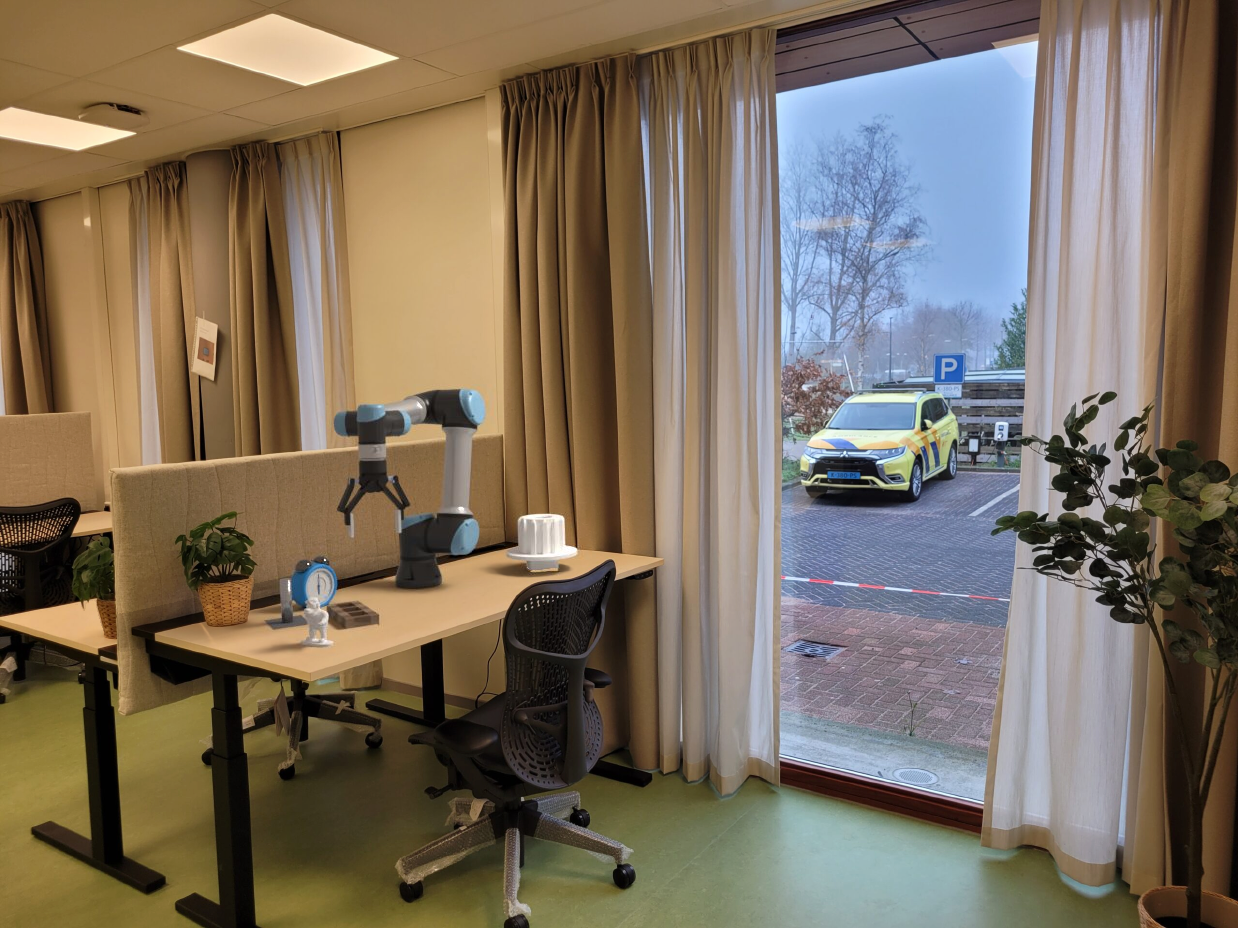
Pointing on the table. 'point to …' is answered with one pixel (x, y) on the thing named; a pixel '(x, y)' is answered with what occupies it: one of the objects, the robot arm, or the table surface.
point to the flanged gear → (541, 541)
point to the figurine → (316, 624)
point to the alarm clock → (313, 581)
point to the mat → (278, 623)
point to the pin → (286, 600)
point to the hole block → (352, 614)
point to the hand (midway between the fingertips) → (375, 534)
